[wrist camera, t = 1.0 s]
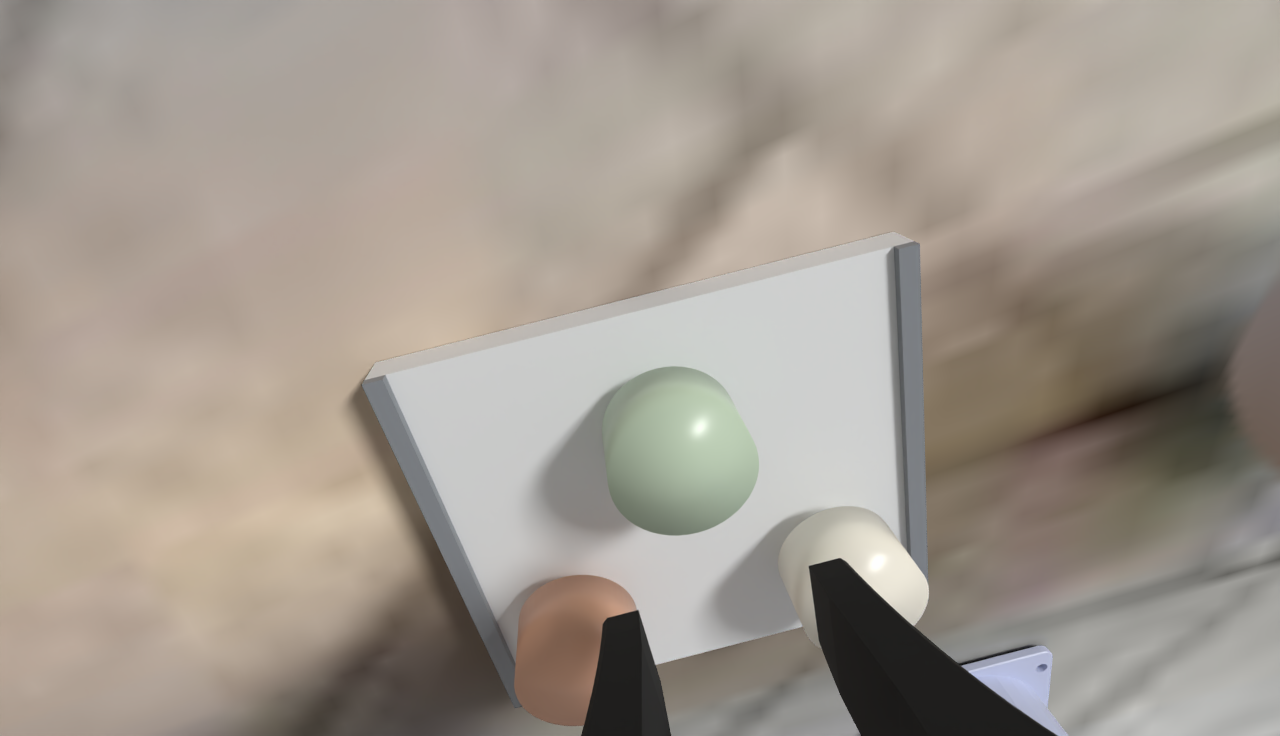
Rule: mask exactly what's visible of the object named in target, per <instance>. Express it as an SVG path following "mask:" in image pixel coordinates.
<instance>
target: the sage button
mask: <svg viewBox="0 0 1280 736" xmlns="http://www.w3.org/2000/svg"><path fill="white" fill-rule="evenodd" d="M602 440H603V448H604V456H605V464H606V473H607V481H608V487H609V492H610V495H611V498H612V500H613V502H614V504H615V506H616V507H617V509H618V510H619V511H620V513H621V514H622V515H623V516H624V517H625V518H626V519H627V520H628V521H630V522H631V523H633V524H634V525H636V526H638V527H640V528H642V529H644V530H647V531H649V532H652V533H657V534H661V535H670V536H680V535H689V534H694V533H699V532H702V531H705V530H708V529H710V528H713V527H715V526H717V525H719V524H720V523H722V522H724V521H725V520H727V519H728V518H730V517H731V516H732V515H733V514H735V513H736V512H737V511H738V510H739V509H740V508H741V507H742V506H743V504H744V503H745V502H746V501H747V499H748V498H749V496H750V494H751V493H752V491H753V489H754V486H755V484H756V481H757V477H758V472H759V457H758V452H757V448H756V445H755V443H754V441H753V439H752V437H751V435H750V433H749V431H748V429H747V427H746V425H745V424H744V422H743V420H742V418H741V416H740V414H739V412H738V410H737V409H736V407H735V405H734V403H733V401H732V399H731V397H730V396H729V394H728V392H727V391H726V389H725V388H724V387H723V386H722V385H721V384H720V383H719V382H718V381H717V380H715V379H714V378H713V377H711V376H709V375H708V374H706V373H704V372H701V371H699V370H696V369H692V368H687V367H678V366H671V367H662V368H657V369H653V370H650V371H647V372H645V373H642V374H640V375H638V376H636V377H635V378H633V379H631V380H630V381H629V382H627V383H626V384H625V385H624V386H622V387H621V389H620V390H619V391H618V392H617V393H616V394H615V395H614V397H613V398H612V399H611V401H610V403H609V405H608V406H607V409H606V411H605V414H604V418H603V422H602Z"/></svg>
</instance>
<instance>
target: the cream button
mask: <svg viewBox="0 0 1280 736" xmlns="http://www.w3.org/2000/svg"><path fill="white" fill-rule="evenodd" d="M837 558H841V559H843V560H845V561H846V562H847V563H848V564H849V565H850V566H851V567H852V568H853V569H854V570H855V571H856V572H857V573H858V574H859V575H860V576H861V577H862V578H863V579H864V580H865V581H866V582H867V583H868V584H869V585H870V586H871V587H872V588H873V589H874V590H875V591H876V592H877V593H878V594H879V595H880V596H881V597H882V598H883V599H884V600H885V601H886V602H887V603H888V604H890V605H891V606H892V607H893V608H894V609H895V610H896V611H897V612H898V613H899V614H900V615H901V616H903V617H904V618H905V619H906V620H907V621H908V622H909V623H910V624H912V625H913V626H914V625H915V624H916V623H917V622H918V620H919V619H920V618H921V616H922V614H923V612H924V611H925V608H926V606H927V602H928V598H929V588H928V583H927V580H926V578H925V576H924V574H923V573H922V572H921V570H920V569H919V568H918V566H917V565H916V563H915V562H914V561H913V559H912V558H911V557H910V555H909V554H908V552H907V551H906V550H905V548H904V547H903V546H902V544H901V543H900V541H899V540H898V539H897V537H896V536H895V535H894V533H893V532H892V530H891V529H890V528H889V526H888V525H887V524H886V522H885V521H884V520H883V519H882V518H881V517H880V516H879V515H877V514H876V513H874V512H872V511H870V510H868V509H865V508H861V507H854V506H842V507H835V508H830V509H827V510H824V511H821V512H819V513H816V514H814V515H812V516H810V517H809V518H807V519H806V520H804V521H803V522H801V523H800V524H799V525H798V526H797V527H795V528H794V529H793V531H792V532H791V533H790V534H789V535H788V537H787V538H786V539H785V541H784V543H783V545H782V547H781V549H780V552H779V556H778V570H779V574H780V576H781V578H782V581H783V583H784V585H785V587H786V590H787V592H788V594H789V596H790V599H791V601H792V603H793V606H794V608H795V610H796V612H797V615H798V617H799V619H800V621H801V624H802V626H803V628H804V630H805V633H806V635H807V636H808V638H809V639H810V640H811V641H812V642H813V643H814V644H815V645H816V646H818V647H819V648H821V645H820V643H819V639H818V631H817V624H816V617H815V609H814V602H813V595H812V587H811V580H810V573H809V566H810V565H814V564H818V563H822V562H826V561H830V560H834V559H837ZM821 649H822V648H821Z"/></svg>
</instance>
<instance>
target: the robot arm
mask: <svg viewBox="0 0 1280 736" xmlns="http://www.w3.org/2000/svg"><path fill="white" fill-rule="evenodd" d="M809 573H810V580H811V587H812V595H813V602H814V609H815V617H816V624H817V631H818V639H819V643H820V645H821V648H822V650H823V653H824V655H825V658H826V660H827V663H828V666H829V668H830V671H831V673H832V676H833V678H834V681H835V683H836V685H837V688H838V690H839V693H840V695H841V697H842V699H843V701H844V703H845V705H846V707H847V709H848V711H849V713H850V715H851V717H852V719H853V721H854V723H855V724H856V726H857V728H858V730H859V732H860V734H861V736H1068V734H1067V733H1066V732H1065V730H1064V729H1063V728H1062V727H1061V725H1060V724H1059V723H1058V721H1057V720H1056V719H1055V717H1054V716H1053V715H1052V714H1051V712H1050V711H1049V710H1048V698H1049V688H1050V678H1051V668H1052V658H1053V656H1052V653H1051V652H1050V651H1049V650H1048V649H1047V648H1046V647H1045V646H1041V645H1040V646H1035V647H1031V648H1027V649H1023V650H1019V651H1015V652H1011V653H1008V654H1004V655H1000V656H996V657H992V658H988V659H985V660H981V661H977V662H973V663H969V664H965V665H962V666H960V665H959V664H958V663H957V662H955V661H954V660H953V659H952V658H950V657H949V656H948V655H947V654H946V653H944V652H943V651H942V650H941V649H939V648H938V647H937V646H936V645H935V644H934V643H932V642H931V641H930V640H929V639H928V638H927V637H925V636H924V635H923V634H922V633H921V632H920V631H919V630H917V629H916V628H915V627H914V626H913V625H912V624H910V623H909V622H908V621H907V620H906V619H905V618H904V617H903V616H901V615H900V614H899V613H898V612H897V611H896V610H895V609H894V608H893V607H892V606H891V605H890V604H888V603H887V602H886V601H885V600H884V599H883V598H882V597H881V596H880V595H879V594H878V593H877V592H876V591H875V590H874V589H873V588H872V587H871V586H870V585H869V584H868V583H867V582H866V581H865V580H864V579H863V578H862V577H861V576H860V575H859V574H858V573H857V572H856V571H855V570H854V569H853V568H852V567H851V566H850V565H849V564H848V563H847V562H846V561H845V560H843V559H841V558H837V559H834V560H830V561H826V562H822V563H818V564H814V565H810V566H809ZM581 736H671V733H670V728H669V722H668V717H667V712H666V707H665V702H664V697H663V691H662V686H661V681H660V678H659V675H658V672H657V668H656V665H655V662H654V659H653V656H652V652H651V649H650V646H649V643H648V639H647V636H646V633H645V630H644V626H643V623H642V620H641V617H640V613H639V610H636V611H632V612H628V613H624V614H620V615H617V616H613V617H609V618H607V619H606V620H605V621H604V623H603V626H602V637H601V645H600V652H599V658H598V664H597V670H596V675H595V680H594V685H593V690H592V694H591V698H590V702H589V706H588V711H587V715H586V719H585V723H584V727H583V731H582V735H581Z"/></svg>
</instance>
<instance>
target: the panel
mask: <svg viewBox="0 0 1280 736" xmlns="http://www.w3.org/2000/svg"><path fill="white" fill-rule="evenodd" d="M671 366H678V367H687V368H692V369H696V370H699V371H701V372H704V373H706V374H708V375H709V376H711V377H713V378H714V379H715V380H717V381H718V382H719V383H720V384H721V385H722V386H723V387H724V388H725V389H726V391H727V392H728V394H729V396H730V397H731V399H732V401H733V403H734V405H735V407H736V409H737V410H738V412H739V414H740V416H741V418H742V420H743V422H744V424H745V425H746V427H747V429H748V431H749V433H750V435H751V437H752V439H753V441H754V443H755V445H756V448H757V452H758V457H759V472H758V477H757V481H756V484H755V486H754V489H753V491H752V493H751V494H750V496H749V498H748V499H747V501H746V502H745V503H744V504H743V506H742V507H741V508H740V509H739V510H738V511H737V512H736V513H735V514H733V515H732V516H731V517H730V518H728V519H727V520H725V521H724V522H722V523H720V524H719V525H717V526H715V527H713V528H710V529H708V530H705V531H702V532H699V533H694V534H689V535H680V536H670V535H661V534H657V533H652V532H649V531H647V530H644V529H642V528H640V527H638V526H636V525H634V524H633V523H631V522H630V521H628V520H627V519H626V518H625V517H624V516H623V515H622V514H621V513H620V511H619V510H618V509H617V507H616V506H615V504H614V502H613V500H612V498H611V495H610V492H609V487H608V481H607V473H606V464H605V456H604V448H603V440H602V422H603V418H604V414H605V411H606V409H607V406H608V405H609V403H610V401H611V399H612V398H613V397H614V395H615V394H616V393H617V392H618V391H619V390H620V389H621V387H622V386H624V385H625V384H626V383H627V382H629V381H630V380H631V379H633V378H635V377H636V376H638V375H640V374H642V373H645V372H647V371H650V370H653V369H657V368H662V367H671ZM362 387H363V389H364V391H365V393H366V395H367V398H368V400H369V402H370V404H371V406H372V408H373V410H374V412H375V414H376V417H377V419H378V421H379V423H380V425H381V427H382V429H383V431H384V433H385V436H386V438H387V440H388V442H389V444H390V446H391V448H392V450H393V452H394V455H395V457H396V459H397V461H398V463H399V465H400V467H401V469H402V471H403V473H404V476H405V478H406V480H407V482H408V484H409V486H410V488H411V490H412V492H413V495H414V497H415V499H416V501H417V503H418V505H419V507H420V509H421V511H422V514H423V516H424V518H425V520H426V522H427V524H428V526H429V528H430V530H431V533H432V535H433V537H434V539H435V541H436V543H437V545H438V547H439V549H440V552H441V554H442V556H443V558H444V560H445V562H446V564H447V566H448V568H449V570H450V573H451V575H452V577H453V579H454V581H455V583H456V585H457V587H458V589H459V592H460V594H461V596H462V598H463V600H464V602H465V604H466V606H467V608H468V611H469V613H470V615H471V617H472V619H473V621H474V623H475V625H476V627H477V630H478V632H479V634H480V636H481V638H482V640H483V642H484V644H485V646H486V649H487V651H488V653H489V655H490V657H491V659H492V661H493V663H494V665H495V667H496V670H497V672H498V674H499V676H500V678H501V680H502V682H503V684H504V686H505V689H506V691H507V693H508V695H509V697H510V699H511V701H512V703H513V705H514V708H518V707H522V705H521V704H520V702H519V700H518V699H517V696H516V694H515V689H514V679H515V665H516V651H517V637H518V623H519V615H520V611H521V609H522V606H523V605H524V603H525V601H526V600H527V599H528V598H529V596H530V595H531V594H532V593H533V592H534V591H536V590H537V589H538V588H540V587H541V586H543V585H545V584H546V583H548V582H551V581H553V580H555V579H559V578H562V577H566V576H572V575H593V576H599V577H603V578H606V579H609V580H611V581H613V582H615V583H617V584H619V585H620V586H622V587H623V588H624V589H625V590H626V591H627V592H628V593H629V594H630V595H631V597H632V598H633V600H634V602H635V605H636V609H637V610H639V613H640V617H641V620H642V623H643V626H644V630H645V633H646V636H647V639H648V643H649V646H650V649H651V652H652V656H653V659H654V662H655V665H657V664H661V663H665V662H668V661H672V660H676V659H680V658H684V657H688V656H692V655H695V654H699V653H703V652H707V651H711V650H715V649H719V648H722V647H726V646H730V645H734V644H738V643H742V642H746V641H749V640H753V639H757V638H761V637H765V636H769V635H773V634H776V633H780V632H784V631H788V630H792V629H796V628H800V627H803V626H802V624H801V621H800V619H799V617H798V615H797V612H796V610H795V608H794V606H793V603H792V601H791V599H790V596H789V594H788V592H787V590H786V587H785V585H784V583H783V581H782V578H781V576H780V574H779V570H778V556H779V552H780V549H781V547H782V545H783V543H784V541H785V539H786V538H787V537H788V535H789V534H790V533H791V532H792V531H793V529H794V528H795V527H797V526H798V525H799V524H800V523H801V522H803V521H804V520H806V519H807V518H809V517H810V516H812V515H814V514H816V513H819V512H821V511H824V510H827V509H830V508H835V507H842V506H854V507H861V508H865V509H868V510H870V511H872V512H874V513H876V514H877V515H879V516H880V517H881V518H882V519H883V520H884V521H885V522H886V524H887V525H888V526H889V528H890V529H891V530H892V532H893V533H894V535H895V536H896V537H897V539H898V540H899V541H900V543H901V544H902V546H903V547H904V548H905V550H906V551H907V552H908V554H909V555H910V557H911V558H912V559H913V561H914V562H915V563H916V565H917V566H918V568H919V569H920V570H921V572H922V573H923V574H924V576H925V578H926V580H927V583H928V559H927V519H926V478H925V438H924V398H923V357H922V317H921V276H920V244H919V243H917V242H915V241H913V240H911V239H908V238H906V237H904V236H902V235H900V234H898V233H896V232H891V233H887V234H883V235H879V236H875V237H871V238H867V239H863V240H859V241H855V242H851V243H847V244H843V245H839V246H835V247H831V248H827V249H823V250H819V251H815V252H811V253H807V254H803V255H799V256H796V257H792V258H788V259H784V260H780V261H776V262H772V263H768V264H764V265H760V266H756V267H752V268H748V269H744V270H740V271H736V272H732V273H728V274H724V275H720V276H716V277H712V278H708V279H704V280H700V281H696V282H693V283H689V284H685V285H681V286H677V287H673V288H669V289H665V290H661V291H657V292H653V293H649V294H645V295H641V296H637V297H633V298H629V299H625V300H621V301H617V302H613V303H609V304H605V305H601V306H597V307H593V308H589V309H586V310H582V311H578V312H574V313H570V314H566V315H562V316H558V317H554V318H550V319H546V320H542V321H538V322H534V323H530V324H526V325H522V326H518V327H514V328H510V329H506V330H502V331H498V332H494V333H490V334H486V335H483V336H479V337H475V338H471V339H467V340H463V341H459V342H455V343H451V344H447V345H443V346H439V347H435V348H431V349H427V350H423V351H419V352H415V353H411V354H407V355H403V356H399V357H395V358H391V359H387V360H383V361H380V362H376V363H375V364H374V366H373V367H372V369H371V371H370V372H369V374H368V375H367V377H366V379H365V380H364V382H363V383H362ZM928 601H929V600H928Z"/></svg>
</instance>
